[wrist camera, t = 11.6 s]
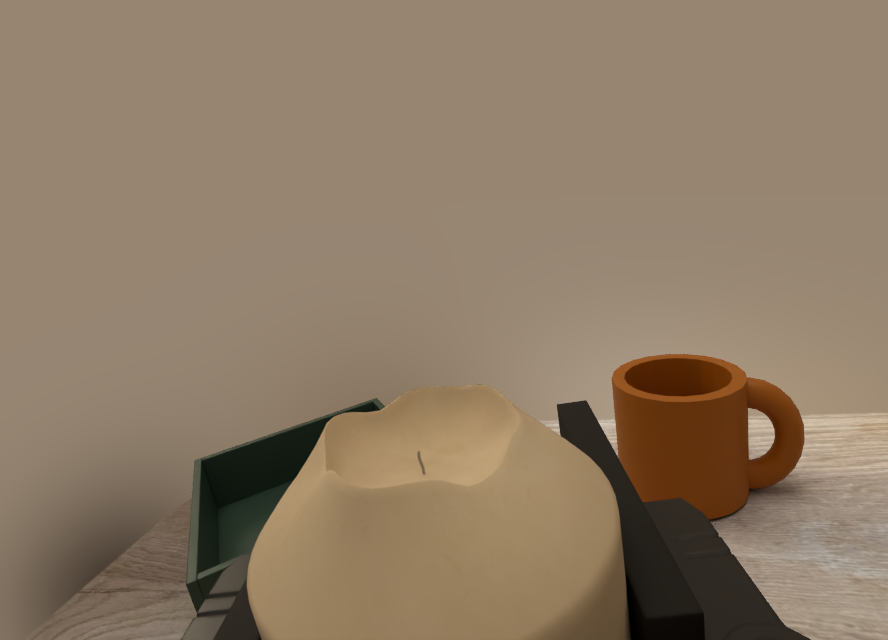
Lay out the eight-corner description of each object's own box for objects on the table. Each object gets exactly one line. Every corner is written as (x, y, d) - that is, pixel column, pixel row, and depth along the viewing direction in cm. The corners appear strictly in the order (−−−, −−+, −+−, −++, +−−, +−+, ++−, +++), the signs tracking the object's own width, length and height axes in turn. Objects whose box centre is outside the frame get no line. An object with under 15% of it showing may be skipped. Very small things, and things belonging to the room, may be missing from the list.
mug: (805, 548, 30) (808, 415, 28) (607, 506, 37) (596, 396, 35) (802, 468, 37) (804, 356, 35) (635, 445, 44) (628, 350, 42)
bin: (214, 659, 30) (185, 584, 29) (212, 513, 46) (194, 460, 44) (462, 538, 37) (449, 472, 35) (388, 446, 52) (376, 397, 51)
